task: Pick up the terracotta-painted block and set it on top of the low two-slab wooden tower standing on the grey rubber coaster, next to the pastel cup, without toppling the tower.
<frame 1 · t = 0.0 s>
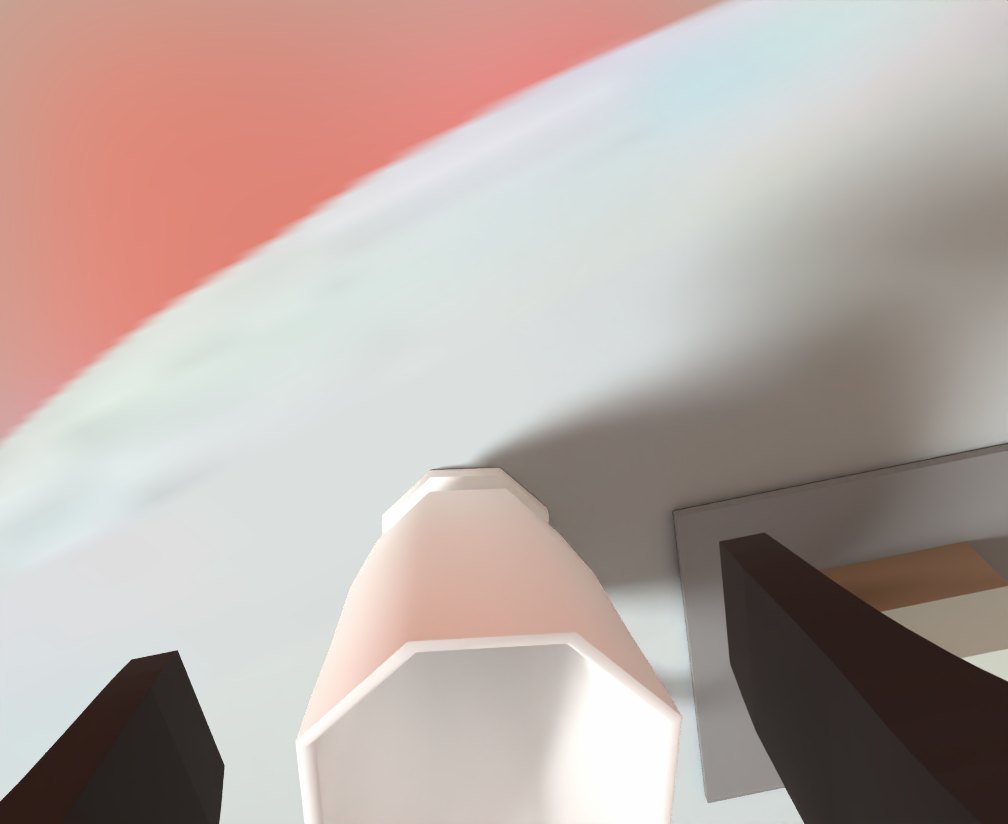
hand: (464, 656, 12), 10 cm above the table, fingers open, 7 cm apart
coaster: (867, 628, 26), on the table
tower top: (908, 685, 24), point 2 cm above the table, touching tower base
tower base: (872, 635, 26), resting on coaster, touching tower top
cup: (487, 580, 24), on the table
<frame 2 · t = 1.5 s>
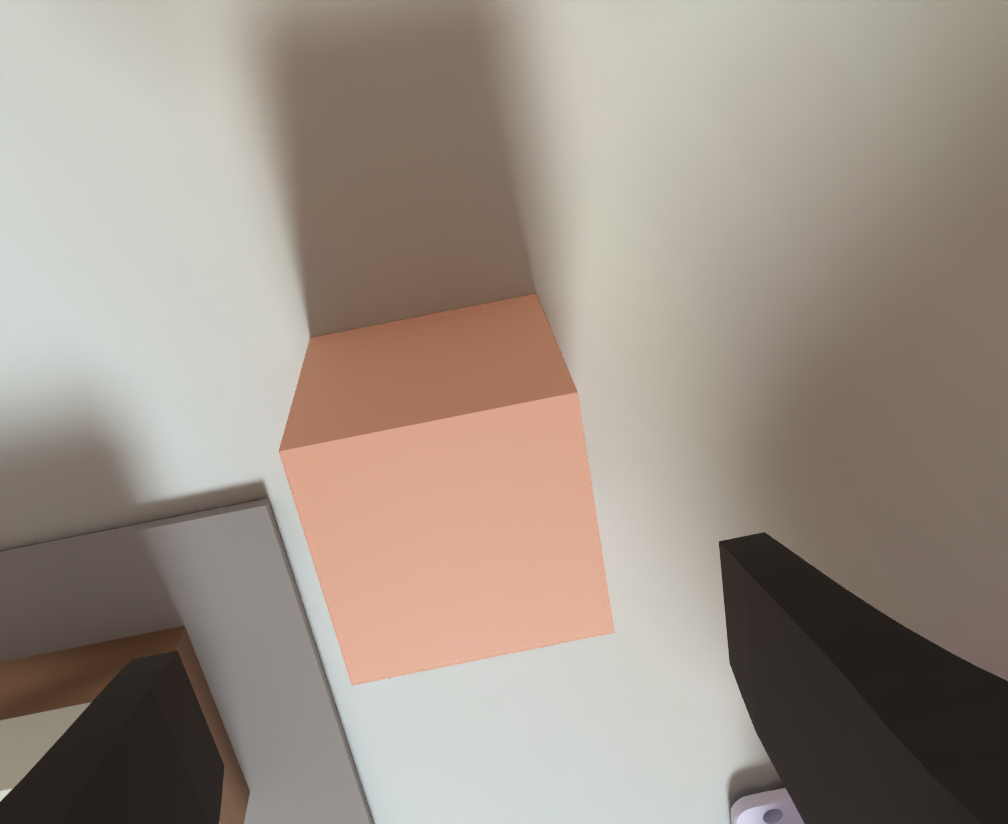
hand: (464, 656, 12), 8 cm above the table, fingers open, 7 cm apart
coaster: (114, 724, 22), on the table
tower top: (83, 803, 20), point 2 cm above the table, touching tower base
tower base: (111, 734, 21), resting on coaster, touching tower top
block: (445, 416, 19), on the table
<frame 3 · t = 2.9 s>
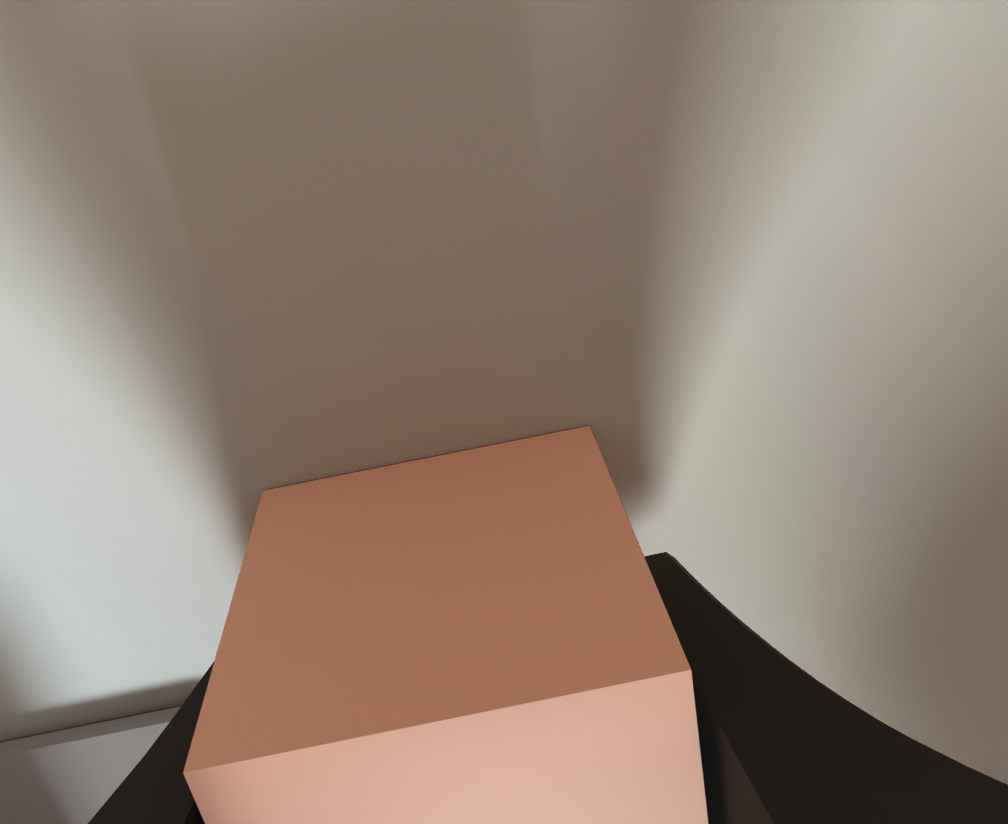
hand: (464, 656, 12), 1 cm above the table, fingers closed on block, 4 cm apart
block: (458, 592, 14), on the table, touching gripper
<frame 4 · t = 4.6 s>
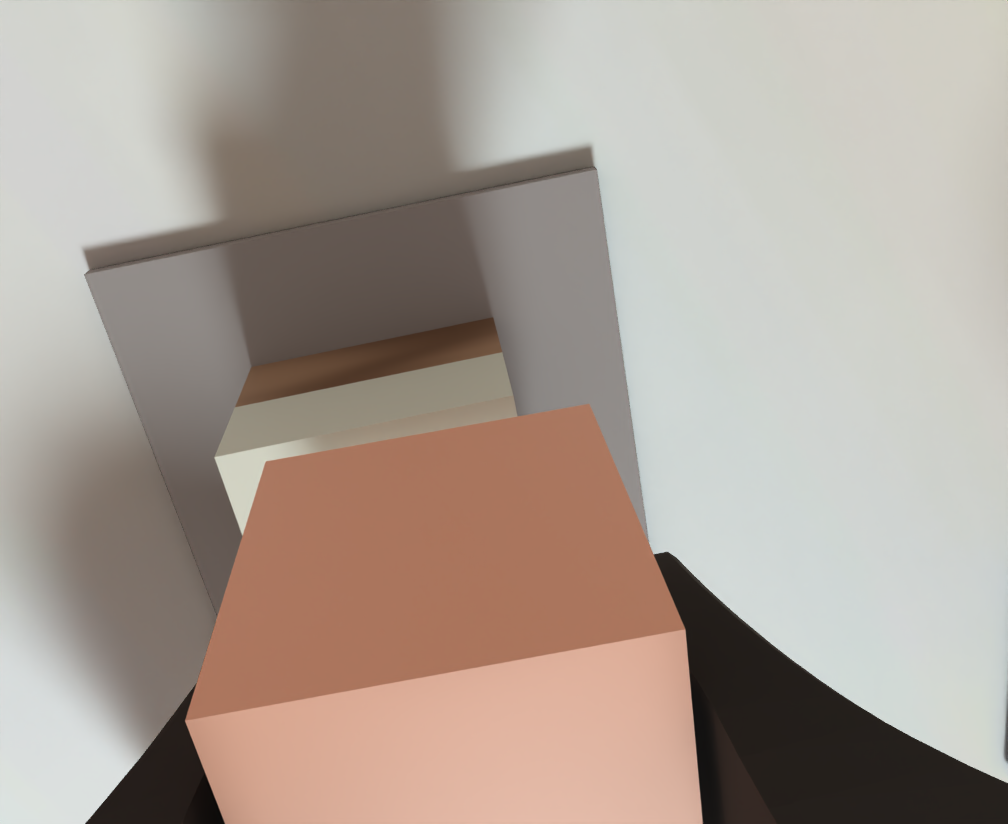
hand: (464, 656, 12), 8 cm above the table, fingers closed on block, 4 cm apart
coaster: (400, 443, 20), on the table
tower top: (399, 495, 18), point 2 cm above the table, touching tower base
tower base: (400, 449, 20), resting on coaster, touching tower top
block: (456, 568, 14), point 7 cm above the table, touching gripper
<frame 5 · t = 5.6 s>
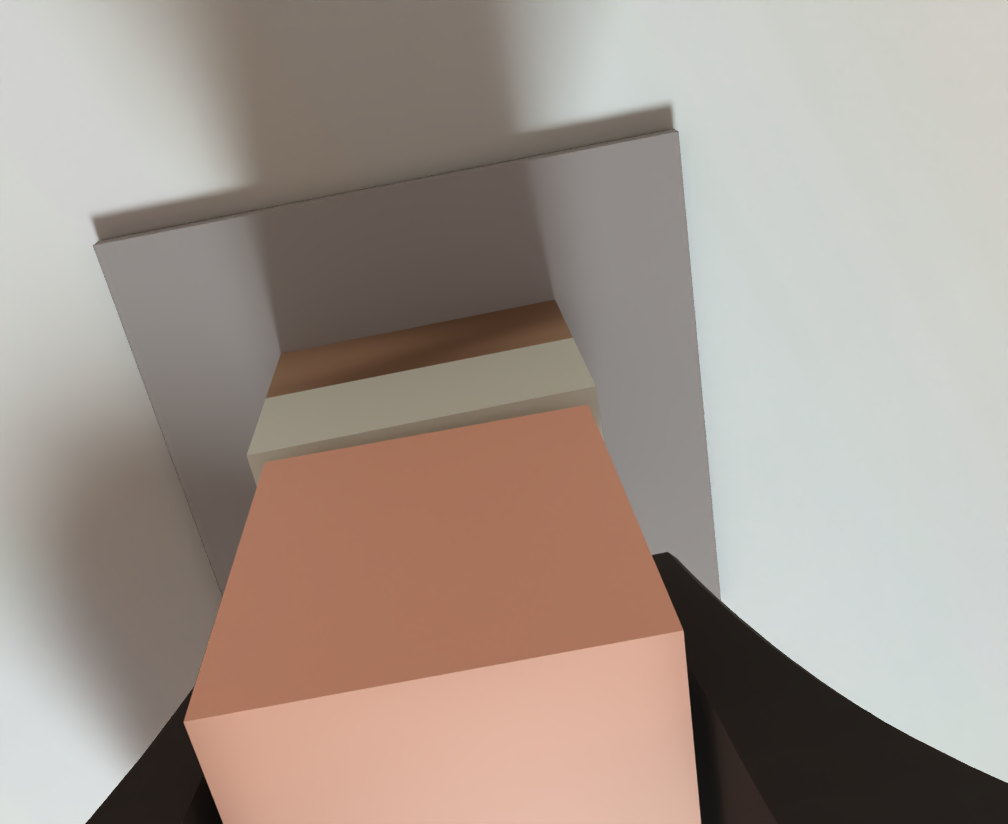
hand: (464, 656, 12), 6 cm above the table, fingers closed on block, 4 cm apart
coaster: (445, 441, 18), on the table
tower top: (450, 500, 16), point 2 cm above the table, touching tower base
tower base: (445, 448, 18), resting on coaster, touching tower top
block: (455, 568, 14), point 5 cm above the table, touching gripper
when the fingers open (6 cm above the table, at t = 6.3 s): block stays where it is, resting on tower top.
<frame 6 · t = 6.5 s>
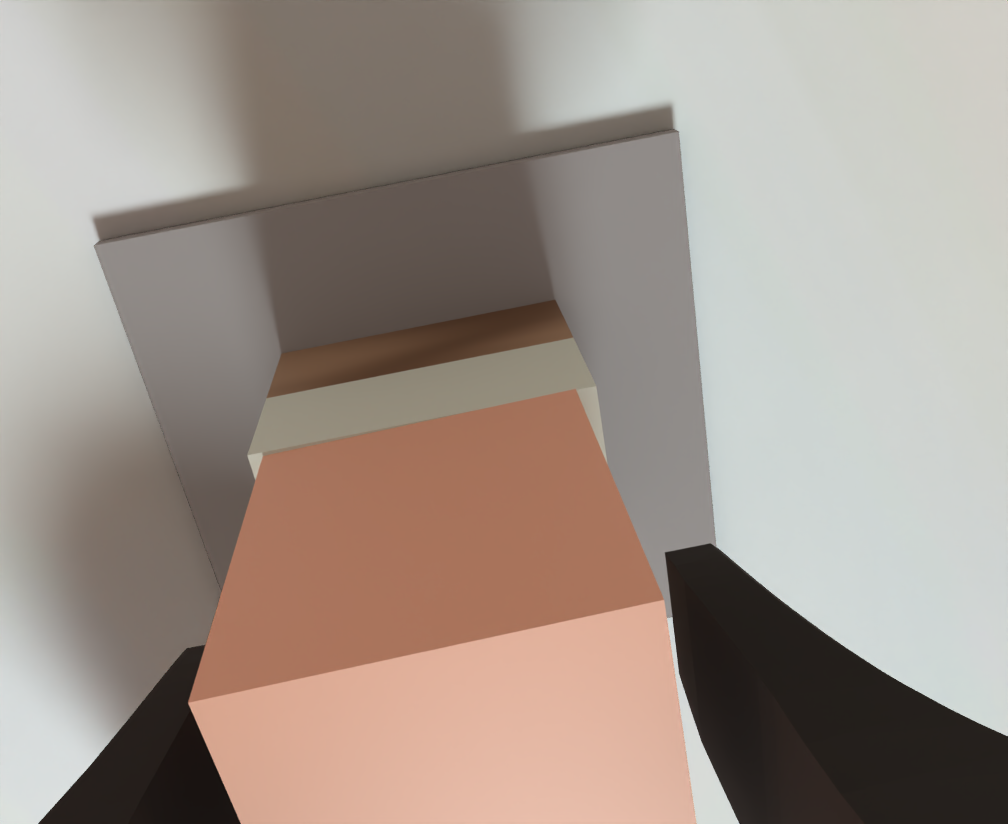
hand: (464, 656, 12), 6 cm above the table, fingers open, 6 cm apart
coaster: (445, 441, 18), on the table
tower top: (450, 500, 16), point 2 cm above the table, touching block, tower base
tower base: (446, 448, 18), resting on coaster, touching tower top
block: (453, 553, 14), point 4 cm above the table, touching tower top
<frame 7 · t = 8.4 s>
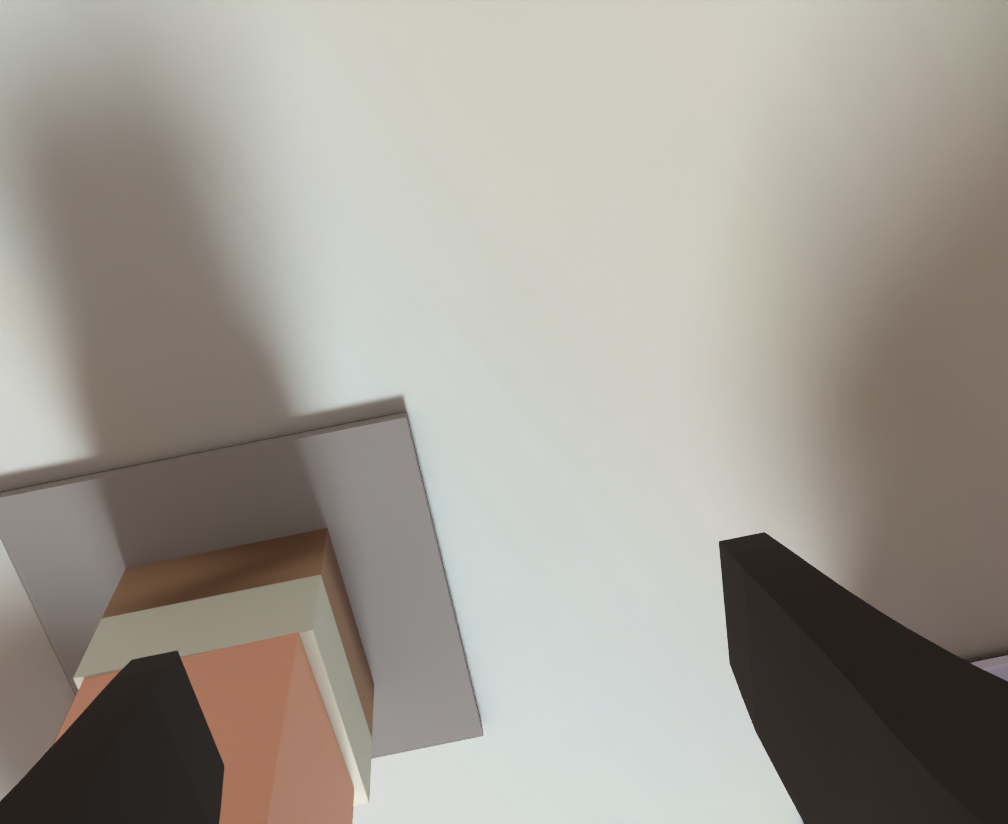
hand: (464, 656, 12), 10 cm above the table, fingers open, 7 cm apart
coaster: (257, 621, 24), on the table
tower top: (243, 681, 22), point 2 cm above the table, touching block, tower base
tower base: (255, 629, 24), resting on coaster, touching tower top
block: (225, 736, 20), point 4 cm above the table, touching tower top
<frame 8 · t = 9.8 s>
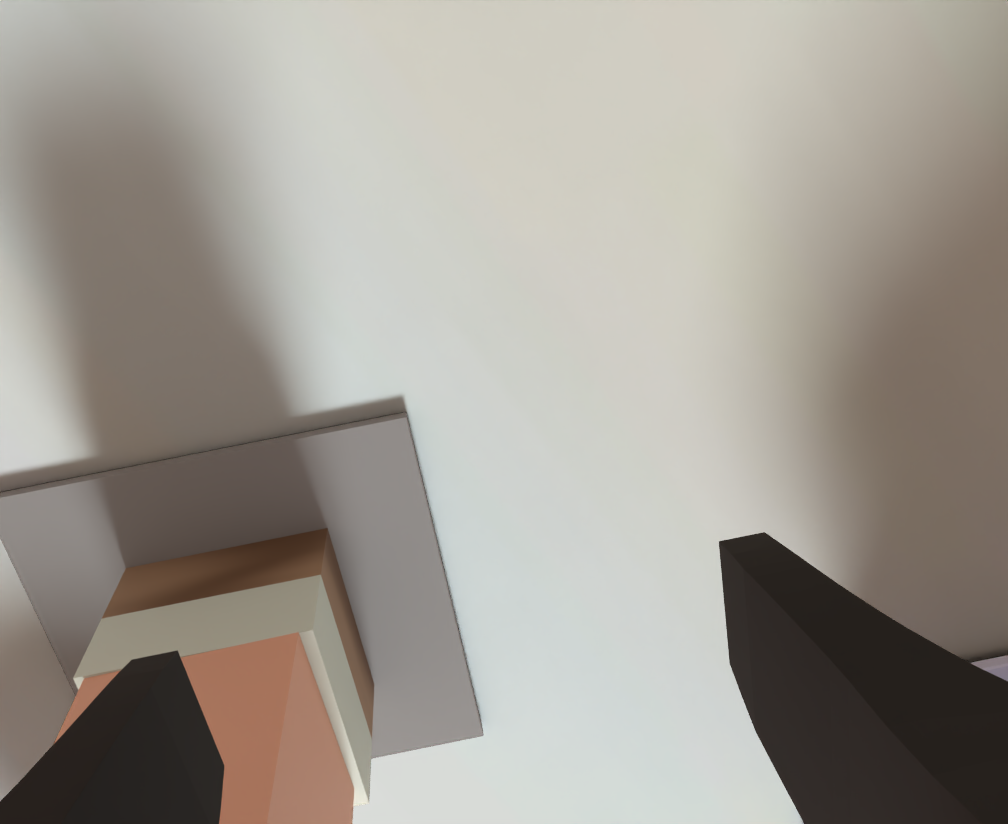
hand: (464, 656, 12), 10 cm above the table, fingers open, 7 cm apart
coaster: (257, 622, 24), on the table
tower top: (243, 682, 22), point 2 cm above the table, touching block, tower base
tower base: (255, 629, 24), resting on coaster, touching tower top
block: (225, 736, 20), point 4 cm above the table, touching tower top
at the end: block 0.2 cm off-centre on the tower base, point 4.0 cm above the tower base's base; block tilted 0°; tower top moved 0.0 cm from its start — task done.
